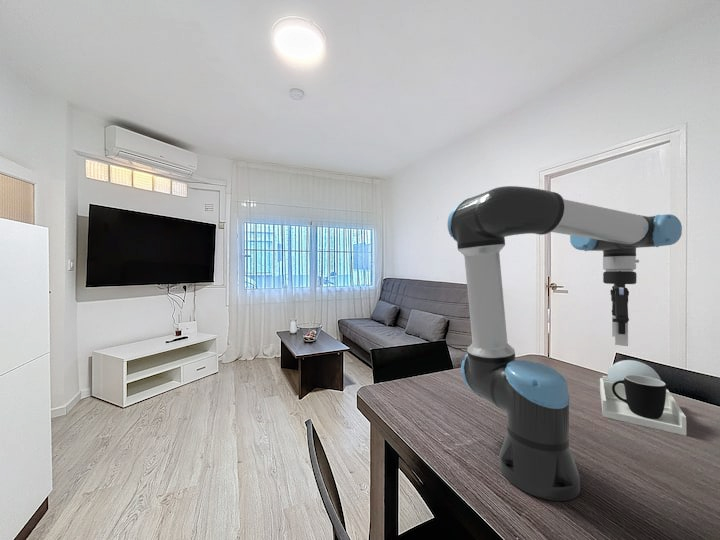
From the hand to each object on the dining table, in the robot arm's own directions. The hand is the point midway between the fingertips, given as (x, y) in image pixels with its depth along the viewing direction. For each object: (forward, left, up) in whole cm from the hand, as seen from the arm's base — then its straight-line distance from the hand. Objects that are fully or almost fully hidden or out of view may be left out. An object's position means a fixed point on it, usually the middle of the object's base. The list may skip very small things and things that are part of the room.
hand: (619, 340), depth 87 cm
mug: (+4, -4, -22) cm, 23 cm away
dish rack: (+8, -4, -23) cm, 24 cm away
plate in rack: (+14, -4, -23) cm, 27 cm away
